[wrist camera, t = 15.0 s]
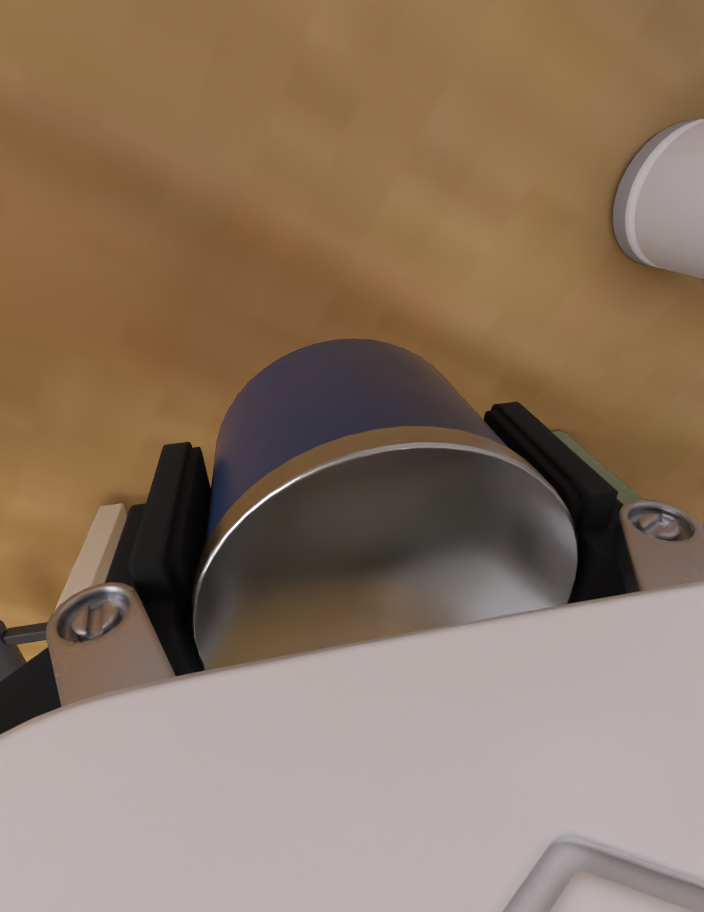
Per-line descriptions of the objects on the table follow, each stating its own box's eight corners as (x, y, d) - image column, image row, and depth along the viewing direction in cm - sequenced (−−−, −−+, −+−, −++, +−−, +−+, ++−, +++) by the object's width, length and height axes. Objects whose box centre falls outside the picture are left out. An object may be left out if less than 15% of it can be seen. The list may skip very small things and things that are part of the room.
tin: (191, 546, 13) (163, 732, 9) (239, 298, 10) (234, 399, 6) (417, 571, 15) (483, 733, 11) (512, 370, 12) (655, 484, 8)
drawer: (70, 673, 32) (26, 798, 26) (-10, 519, 26) (-96, 635, 19) (372, 623, 35) (399, 724, 28) (369, 471, 28) (403, 559, 22)
